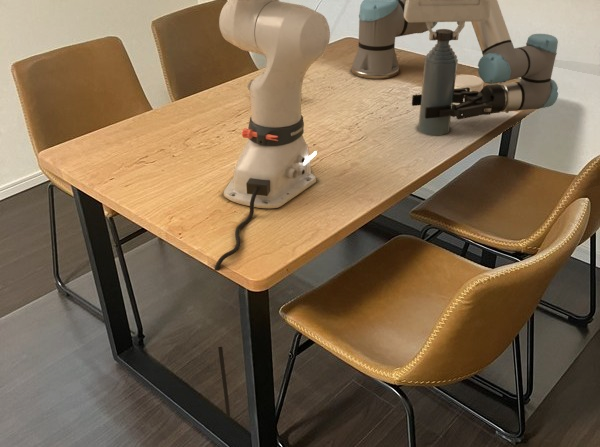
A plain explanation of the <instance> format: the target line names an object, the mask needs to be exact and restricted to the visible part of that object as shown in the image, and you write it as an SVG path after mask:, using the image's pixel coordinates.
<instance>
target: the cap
mask: <svg viewBox="0 0 600 447" xmlns="http://www.w3.org/2000/svg"><path fill="white" fill-rule="evenodd" d="M453 31H454V30H452V29H448V28H440V29H436V30H435V32H436V33H437V36H436V40H435V41H437V40H438V41H449V42H450V41H451V42H452V41H453V40H452V37H453Z"/></svg>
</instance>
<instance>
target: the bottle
mask: <svg viewBox="0 0 600 447" xmlns="http://www.w3.org/2000/svg"><path fill="white" fill-rule="evenodd" d="M458 60H459V59H458V56H457V55H456V53H455V51H454V50H453V48H452V47H451V45H450V41H438V40H436V44H434V46H433V47H432V48H431V49H430V50H429V51H428V53H427V54H426V55H425V57H424V62H423V73H422V85H421V104H420V105H419V114H418V124H417V125H418V127H417V129H418V131H419V132H420V133H422V134H424V135H429V136H443V135H446V134H448V133H449V132H450V127H451V120H452V119H451V118H452V117H451V116H446V117H437V118H427V119H426V118H425V110H426V107H435V106H445V105H450V106H451V108H452V104H454V103H453V96H454V88H455V80H456V75H457V71H458V64H459V61H458Z"/></svg>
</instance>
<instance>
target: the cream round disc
mask: <svg viewBox="0 0 600 447" xmlns="http://www.w3.org/2000/svg"><path fill="white" fill-rule="evenodd" d="M484 84H485V82H484V81H483V80H482V79H481V78H480V76H477V75H473V74H456V80H455V88H454V89H458V88H466V87H469V88H470V92H471V91H478V92H480V91H481V90H482V89H483V87H484Z"/></svg>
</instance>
